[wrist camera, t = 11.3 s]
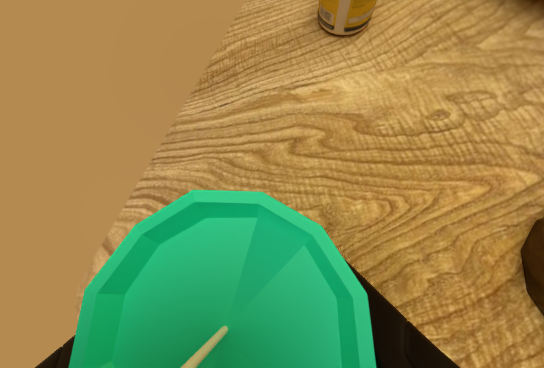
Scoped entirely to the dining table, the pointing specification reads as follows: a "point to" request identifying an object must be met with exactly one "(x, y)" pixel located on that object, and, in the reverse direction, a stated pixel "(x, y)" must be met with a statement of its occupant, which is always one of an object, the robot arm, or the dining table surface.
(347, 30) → the pill bottle
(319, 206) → the dining table surface
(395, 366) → the robot arm
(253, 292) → the candle
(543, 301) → the pan
